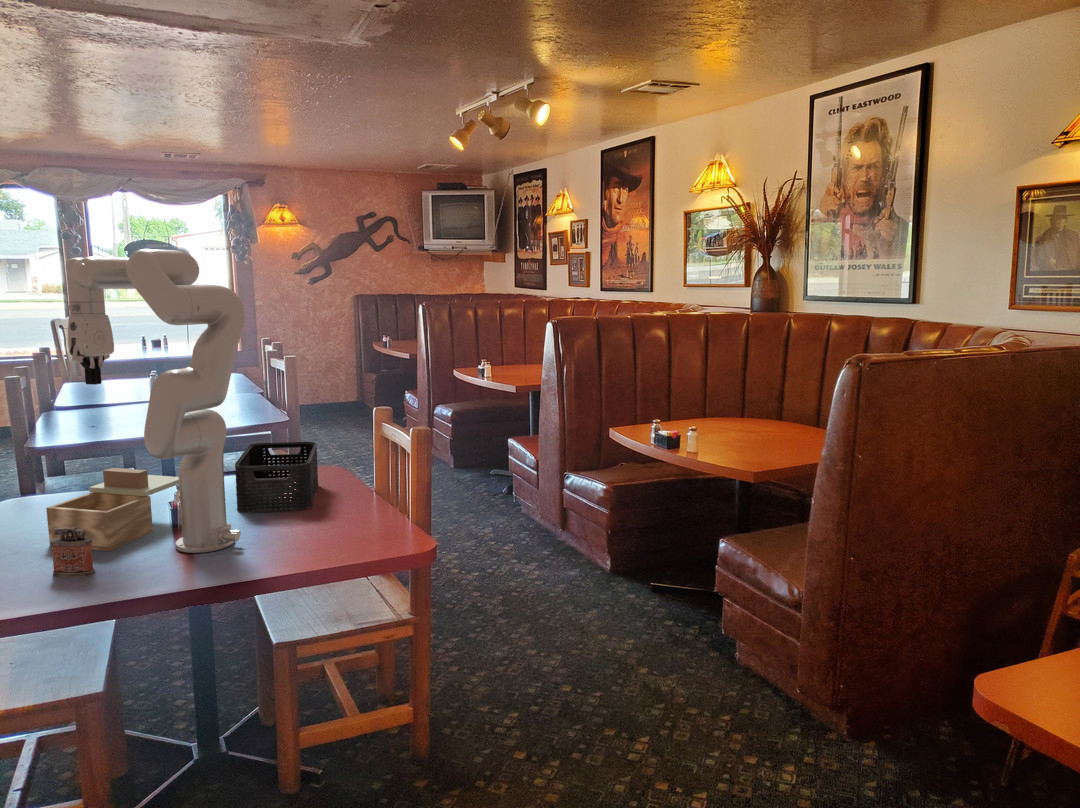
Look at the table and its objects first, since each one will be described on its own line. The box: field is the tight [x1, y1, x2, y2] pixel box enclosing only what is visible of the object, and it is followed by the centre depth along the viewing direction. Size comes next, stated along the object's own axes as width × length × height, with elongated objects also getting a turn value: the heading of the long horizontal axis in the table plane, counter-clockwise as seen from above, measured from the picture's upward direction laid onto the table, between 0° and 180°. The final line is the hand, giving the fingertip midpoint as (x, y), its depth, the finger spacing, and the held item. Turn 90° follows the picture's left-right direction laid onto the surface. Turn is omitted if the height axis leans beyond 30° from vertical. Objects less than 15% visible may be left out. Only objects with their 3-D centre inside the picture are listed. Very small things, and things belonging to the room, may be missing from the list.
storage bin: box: [234, 441, 319, 514], centre depth 217 cm, size 29×19×13 cm
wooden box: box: [45, 492, 154, 552], centre depth 181 cm, size 16×14×9 cm
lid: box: [88, 467, 179, 496], centre depth 192 cm, size 16×14×5 cm
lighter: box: [49, 527, 96, 578], centre depth 159 cm, size 8×3×10 cm, turn 92°
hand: (93, 383), depth 190 cm, fingers closed
